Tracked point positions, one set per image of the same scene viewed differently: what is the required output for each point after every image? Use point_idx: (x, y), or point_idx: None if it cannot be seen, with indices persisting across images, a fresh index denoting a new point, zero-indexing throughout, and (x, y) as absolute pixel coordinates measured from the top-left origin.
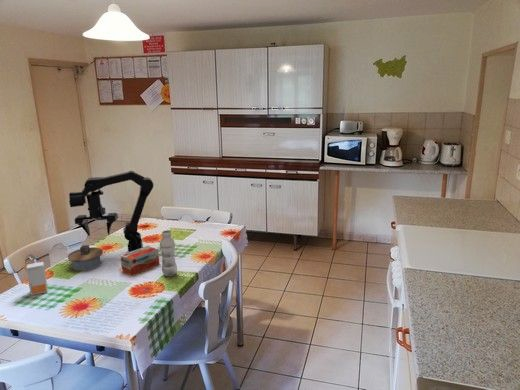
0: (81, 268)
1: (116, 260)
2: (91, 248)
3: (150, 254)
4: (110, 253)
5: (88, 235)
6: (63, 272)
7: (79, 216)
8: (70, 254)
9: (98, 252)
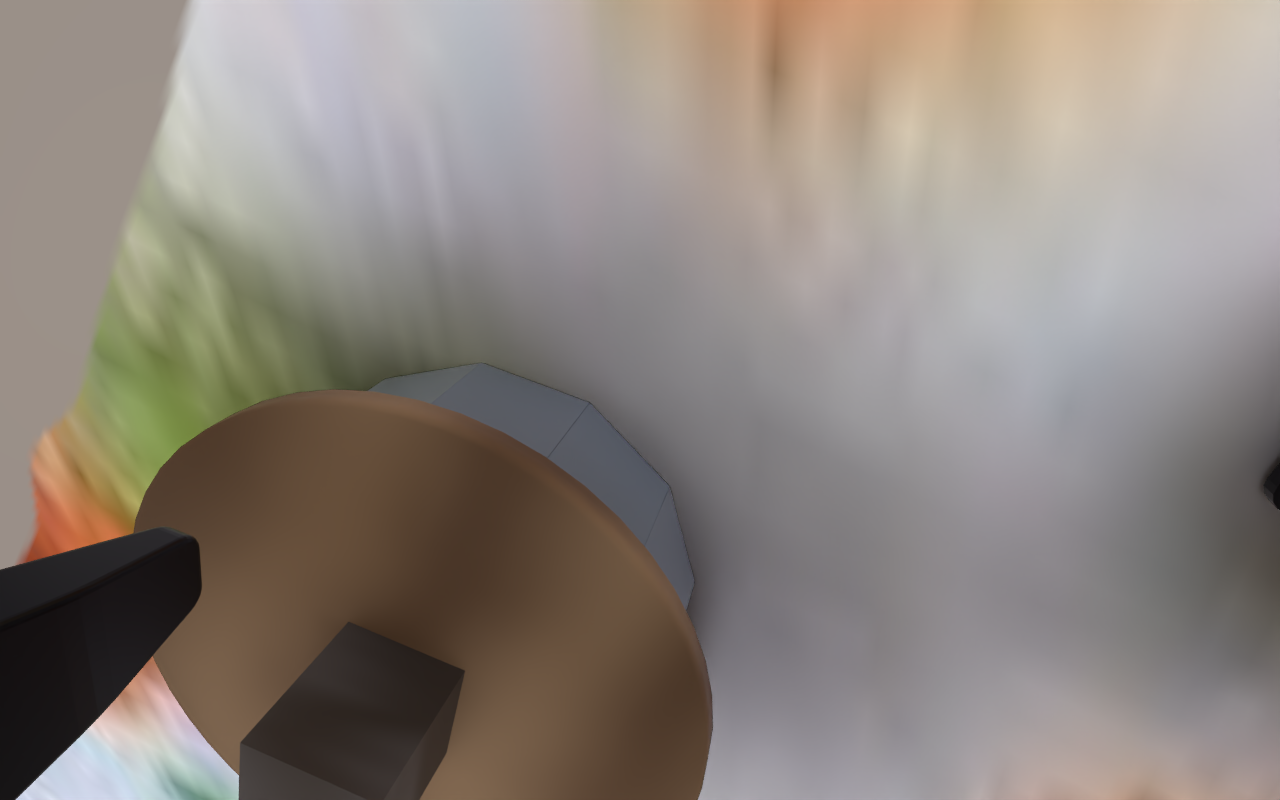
0: None
1: (950, 611)
2: (462, 498)
3: None
4: (893, 209)
5: (154, 618)
6: None
7: None
8: None
9: (628, 768)
